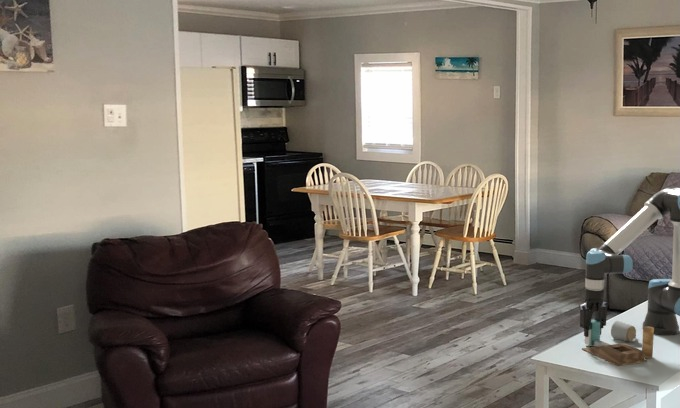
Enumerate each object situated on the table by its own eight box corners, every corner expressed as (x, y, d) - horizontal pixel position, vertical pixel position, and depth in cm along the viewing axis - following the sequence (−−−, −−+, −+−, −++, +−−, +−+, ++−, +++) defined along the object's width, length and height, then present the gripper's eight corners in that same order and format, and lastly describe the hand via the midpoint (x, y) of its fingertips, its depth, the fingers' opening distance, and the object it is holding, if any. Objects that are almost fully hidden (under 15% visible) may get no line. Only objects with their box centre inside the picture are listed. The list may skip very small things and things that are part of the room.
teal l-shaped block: (593, 342, 340) (593, 319, 339) (622, 354, 324) (623, 330, 322) (585, 343, 338) (586, 320, 337) (613, 356, 322) (615, 331, 321)
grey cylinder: (627, 344, 340) (628, 326, 339) (609, 339, 346) (610, 322, 345) (640, 339, 347) (641, 322, 346) (623, 335, 353) (624, 318, 352)
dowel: (647, 354, 326) (648, 325, 324) (654, 357, 322) (656, 328, 321) (639, 356, 324) (640, 326, 323) (646, 359, 321) (648, 329, 319)
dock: (609, 345, 338) (609, 336, 337) (647, 361, 318) (647, 351, 317) (581, 349, 333) (582, 340, 332) (618, 365, 313) (619, 355, 312)
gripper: (604, 284, 341) (602, 338, 344) (571, 288, 334) (569, 343, 338) (617, 288, 334) (614, 343, 337) (583, 292, 328) (581, 348, 331)
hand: (592, 343), depth 337 cm, fingers closed on teal l-shaped block, 4 cm apart
